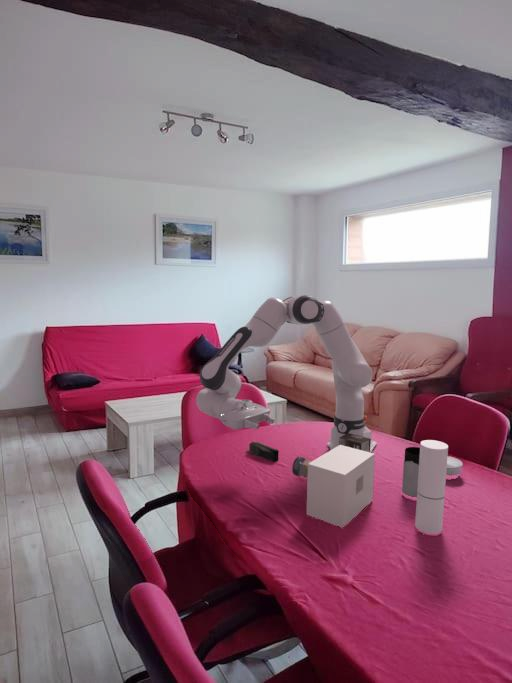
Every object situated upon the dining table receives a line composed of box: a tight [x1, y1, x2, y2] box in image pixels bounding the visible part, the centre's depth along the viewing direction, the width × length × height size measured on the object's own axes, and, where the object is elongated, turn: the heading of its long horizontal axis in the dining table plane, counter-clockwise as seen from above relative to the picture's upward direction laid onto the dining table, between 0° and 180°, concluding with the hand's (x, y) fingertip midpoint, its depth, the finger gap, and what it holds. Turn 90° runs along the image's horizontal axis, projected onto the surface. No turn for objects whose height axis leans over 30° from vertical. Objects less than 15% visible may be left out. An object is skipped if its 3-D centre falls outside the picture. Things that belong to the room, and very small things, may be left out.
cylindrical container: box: [414, 439, 449, 534], centre depth 129 cm, size 7×7×25 cm
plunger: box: [291, 456, 313, 479], centre depth 145 cm, size 6×15×6 cm, turn 52°
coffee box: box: [339, 433, 372, 452], centre depth 158 cm, size 9×6×16 cm
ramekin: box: [446, 456, 464, 476], centre depth 166 cm, size 11×11×5 cm
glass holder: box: [401, 446, 420, 497], centre depth 152 cm, size 9×14×15 cm, turn 137°
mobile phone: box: [245, 441, 280, 463], centre depth 181 cm, size 5×3×15 cm
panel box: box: [306, 445, 376, 528], centre depth 140 cm, size 20×12×16 cm, turn 142°
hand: (265, 424), depth 156 cm, fingers open, 8 cm apart
